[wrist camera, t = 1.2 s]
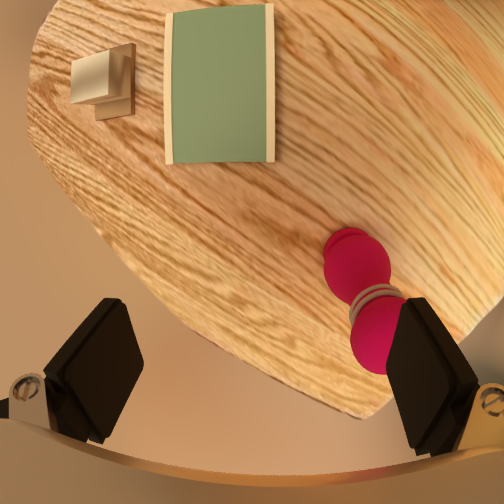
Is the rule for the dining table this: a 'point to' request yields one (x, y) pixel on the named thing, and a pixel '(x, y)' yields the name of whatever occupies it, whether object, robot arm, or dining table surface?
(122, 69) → the butter dish
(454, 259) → the dining table surface
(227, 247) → the dining table surface
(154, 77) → the dining table surface
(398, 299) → the pepper mill
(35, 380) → the robot arm
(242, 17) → the dock
